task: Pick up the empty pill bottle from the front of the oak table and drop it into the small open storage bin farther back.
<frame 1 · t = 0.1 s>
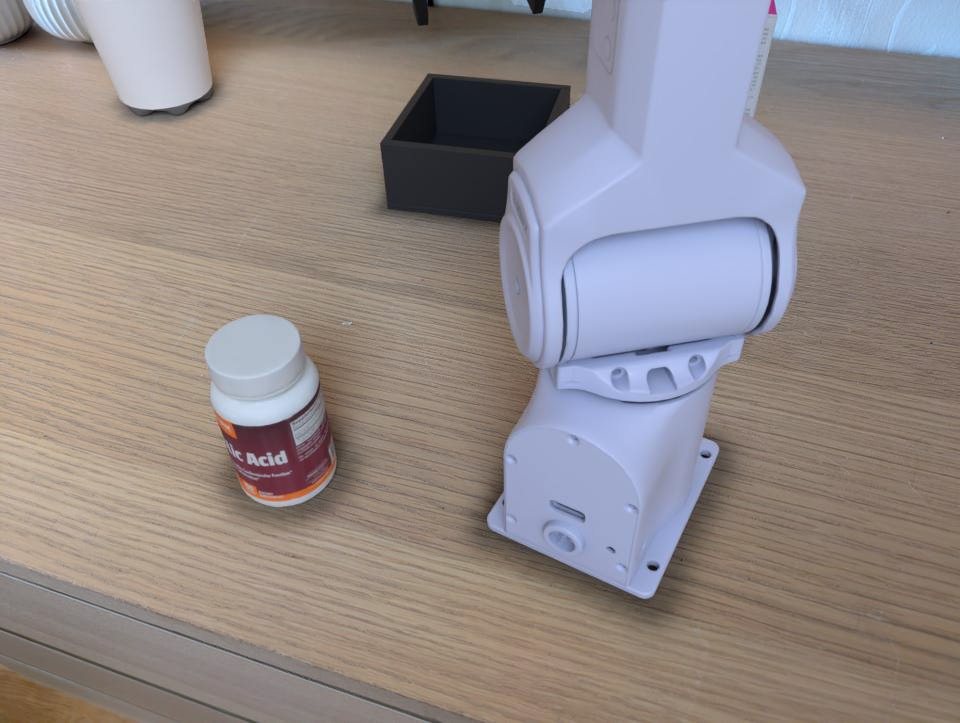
hand: (478, 11, 54), 11 cm above the table, tool pointing down, fingers open, 7 cm apart
supplement box: (700, 157, 61), on the table
pill bottle: (290, 473, 40), on the table
open storage bin: (481, 177, 59), on the table
cup: (170, 101, 70), on the table
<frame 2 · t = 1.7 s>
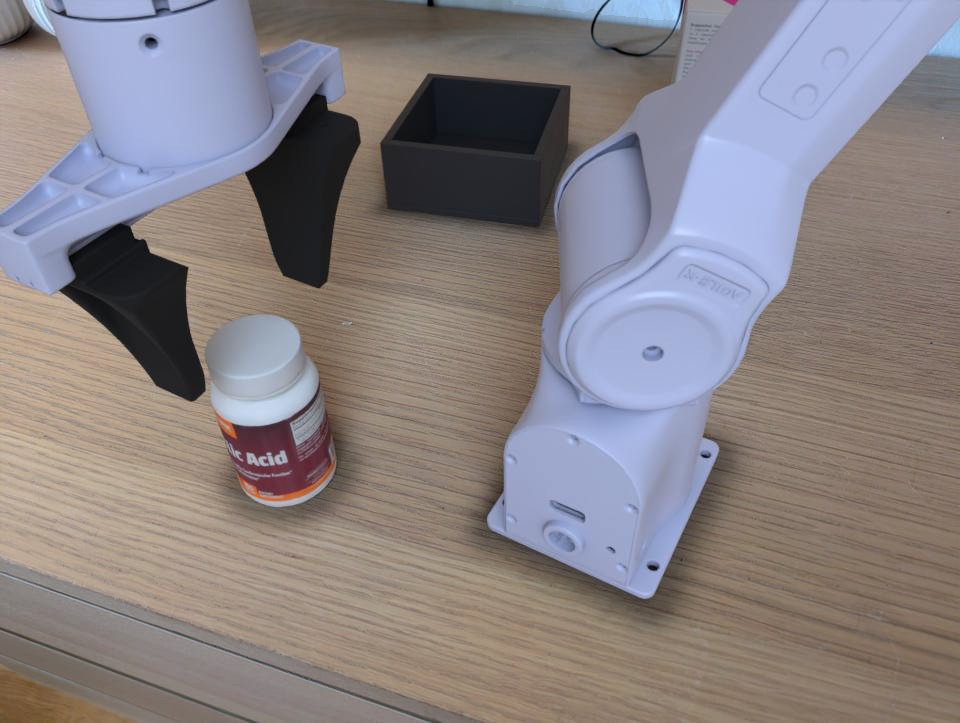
hand: (247, 329, 34), 9 cm above the table, tool pointing down, fingers open, 7 cm apart
nothing on the table moved.
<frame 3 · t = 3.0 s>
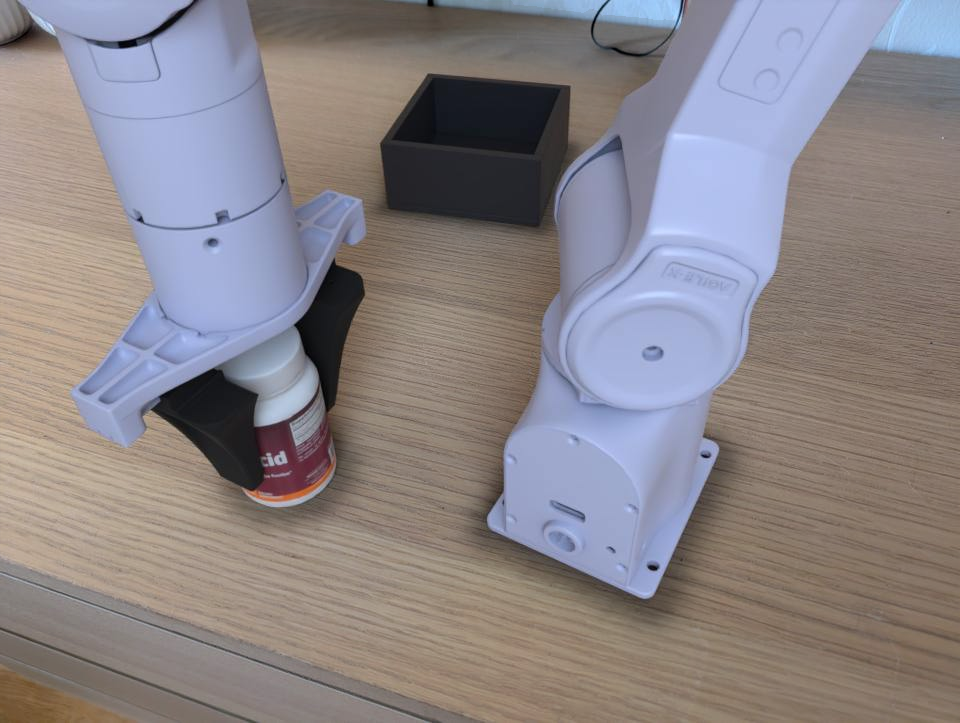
hand: (280, 438, 38), 2 cm above the table, tool pointing down, fingers closed on pill bottle, 5 cm apart
pill bottle: (290, 473, 40), on the table, touching gripper
everything else where it was.
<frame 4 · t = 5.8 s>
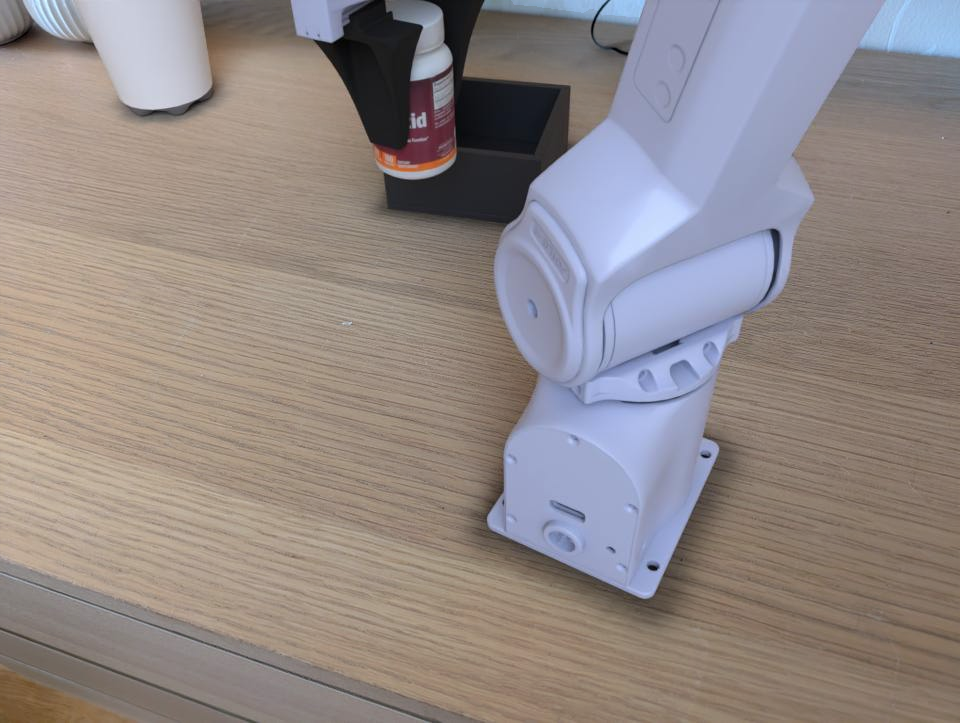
hand: (414, 121, 46), 9 cm above the table, tool pointing down, fingers closed on pill bottle, 5 cm apart
pill bottle: (416, 163, 47), point 7 cm above the table, touching gripper
everything else where it was.
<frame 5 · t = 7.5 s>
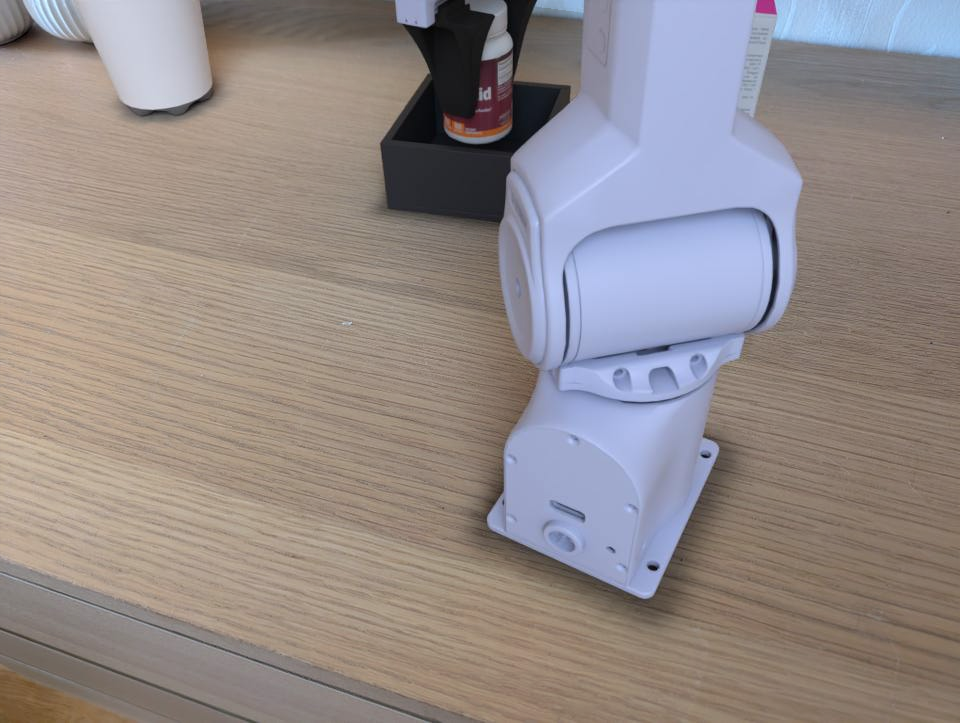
hand: (479, 96, 55), 6 cm above the table, tool pointing down, fingers closed on pill bottle, 5 cm apart
pill bottle: (478, 132, 57), point 4 cm above the table, touching gripper
everything else where it was.
when the fingers open (4 cm above the table, at t = 8.7 s): pill bottle stays where it is, resting on open storage bin.
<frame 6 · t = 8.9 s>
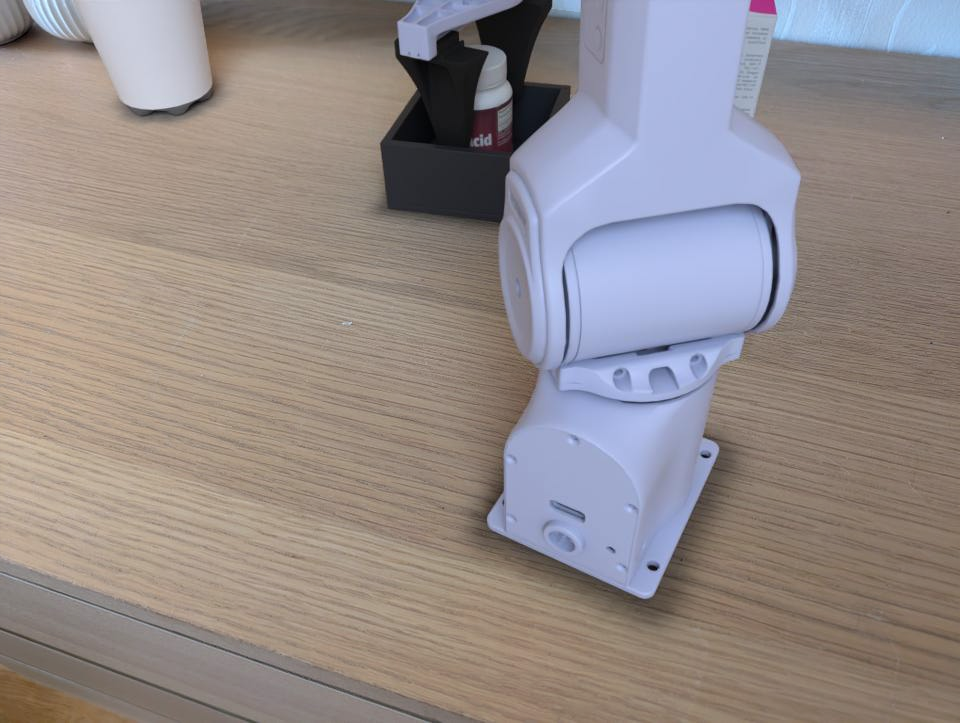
hand: (480, 122, 56), 4 cm above the table, tool pointing down, fingers open, 6 cm apart
pill bottle: (480, 173, 59), resting on open storage bin
everything else where it was.
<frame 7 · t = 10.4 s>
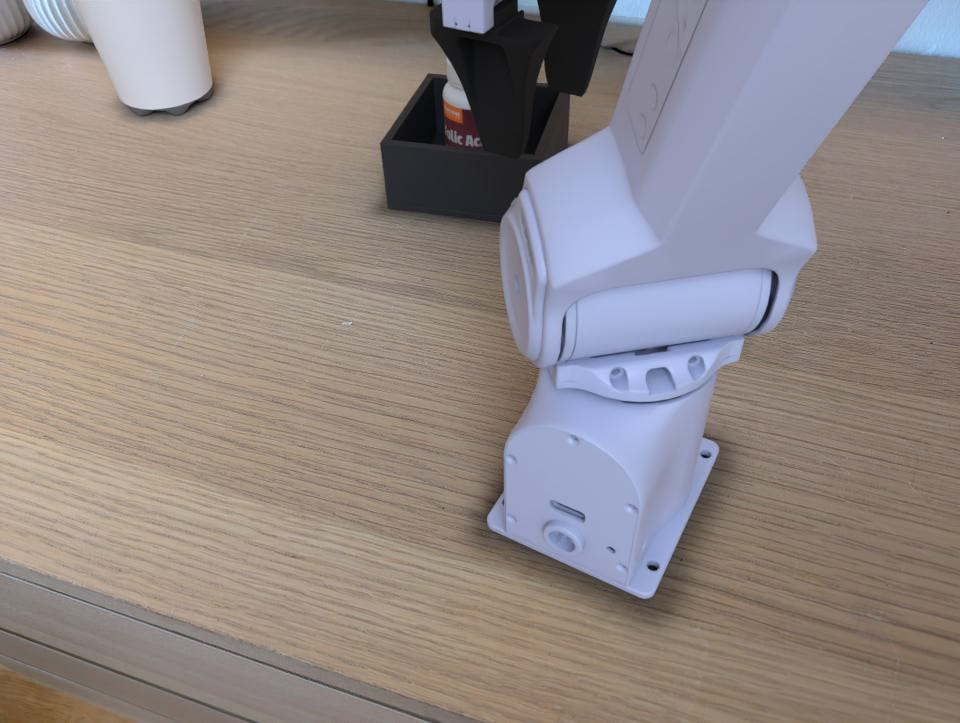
hand: (537, 120, 44), 10 cm above the table, tool pointing down, fingers open, 7 cm apart
nothing on the table moved.
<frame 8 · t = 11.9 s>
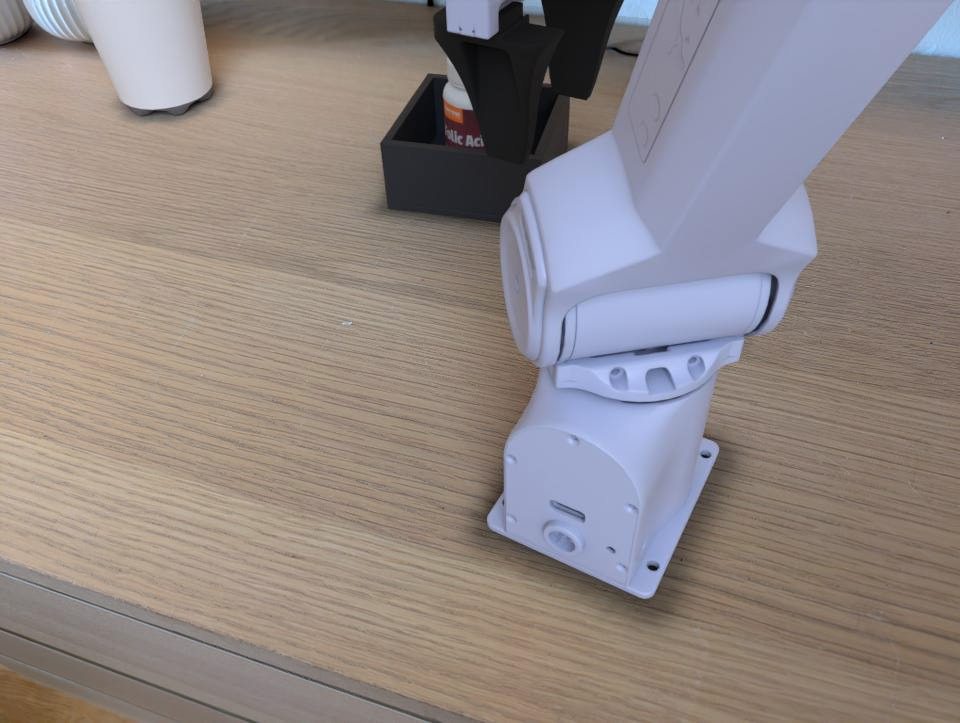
hand: (541, 124, 43), 10 cm above the table, tool pointing down, fingers open, 7 cm apart
nothing on the table moved.
at the end: pill bottle inside the target area in the open storage bin (0.1 cm from its centre), point 0.3 cm above the open storage bin's base; the gripper is holding nothing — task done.
